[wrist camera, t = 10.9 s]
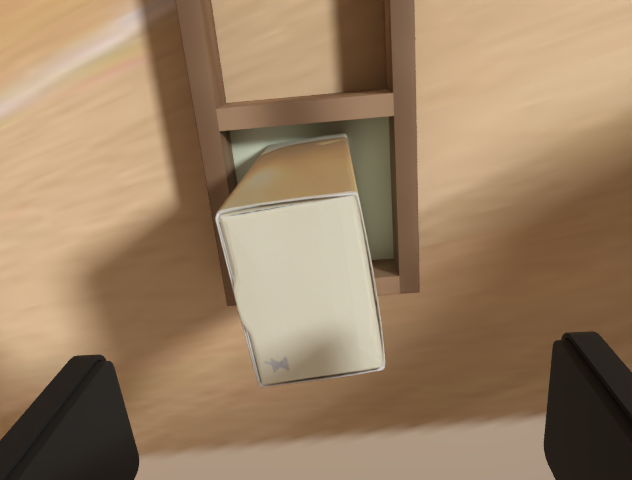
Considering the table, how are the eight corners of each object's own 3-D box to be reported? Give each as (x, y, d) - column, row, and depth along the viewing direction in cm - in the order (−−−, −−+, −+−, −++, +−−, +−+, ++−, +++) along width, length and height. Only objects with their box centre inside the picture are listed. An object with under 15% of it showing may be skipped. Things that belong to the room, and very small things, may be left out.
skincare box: (364, 242, 28) (391, 381, 16) (286, 254, 28) (258, 399, 16) (346, 124, 25) (362, 188, 14) (261, 139, 26) (209, 214, 14)
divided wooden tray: (402, -132, 22) (411, -154, 19) (411, 272, 28) (419, 292, 26) (172, -107, 22) (154, -125, 20) (235, 284, 29) (227, 305, 27)
